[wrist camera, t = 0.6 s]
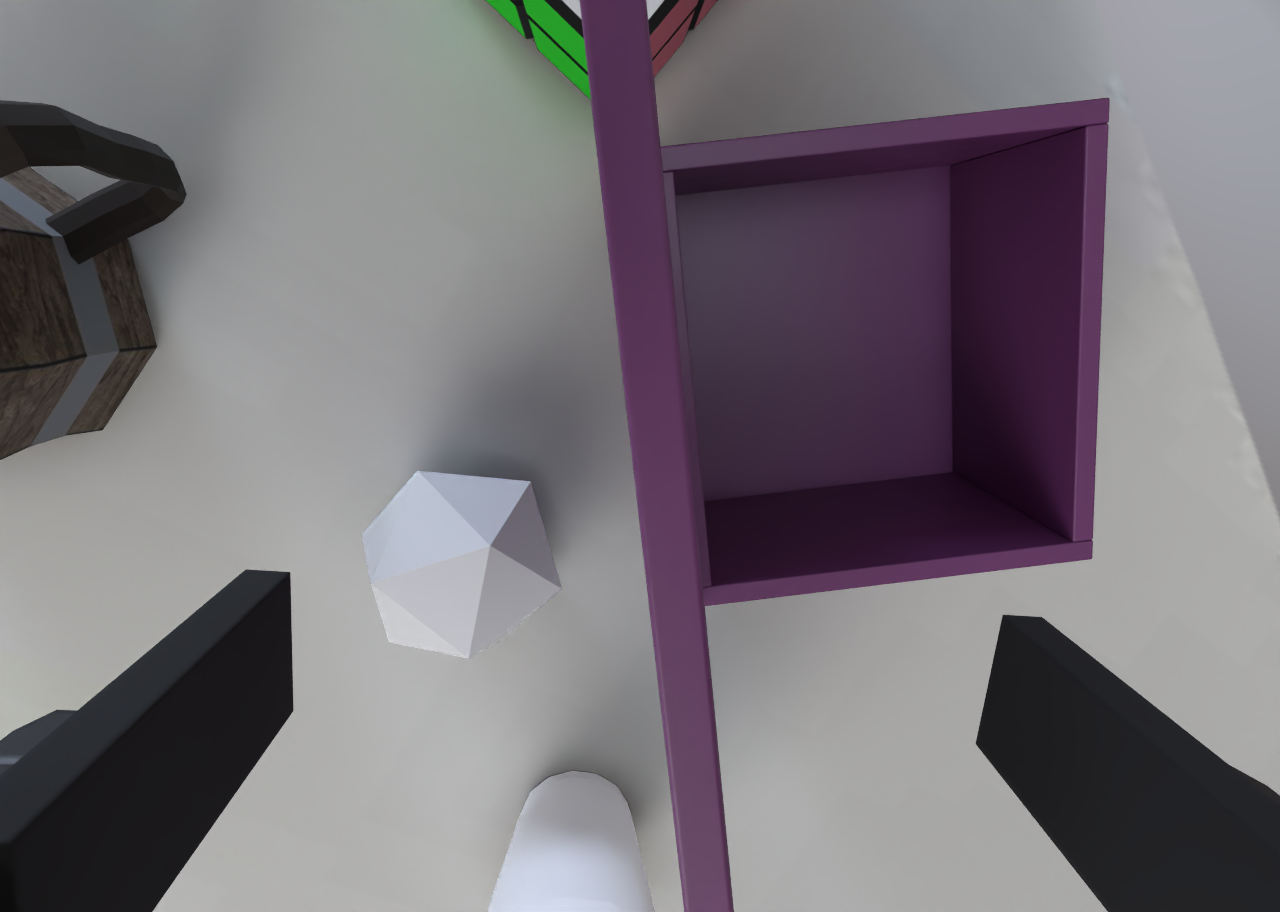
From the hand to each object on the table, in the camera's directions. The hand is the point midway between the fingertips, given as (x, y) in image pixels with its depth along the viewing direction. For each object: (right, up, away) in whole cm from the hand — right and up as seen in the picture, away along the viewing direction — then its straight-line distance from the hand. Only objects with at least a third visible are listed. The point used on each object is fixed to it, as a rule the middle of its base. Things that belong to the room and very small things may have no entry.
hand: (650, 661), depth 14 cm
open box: (+8, +10, +24) cm, 27 cm away
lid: (+1, +4, +5) cm, 6 cm away
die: (-9, 0, +26) cm, 28 cm away
